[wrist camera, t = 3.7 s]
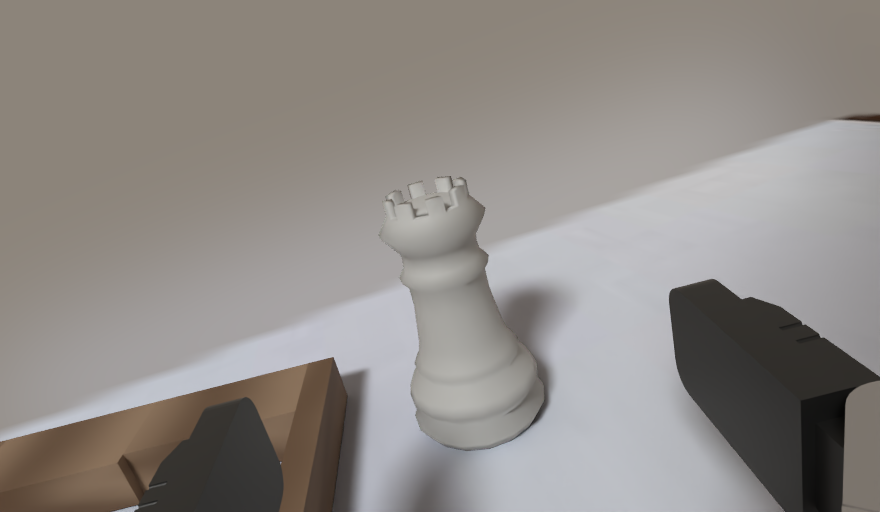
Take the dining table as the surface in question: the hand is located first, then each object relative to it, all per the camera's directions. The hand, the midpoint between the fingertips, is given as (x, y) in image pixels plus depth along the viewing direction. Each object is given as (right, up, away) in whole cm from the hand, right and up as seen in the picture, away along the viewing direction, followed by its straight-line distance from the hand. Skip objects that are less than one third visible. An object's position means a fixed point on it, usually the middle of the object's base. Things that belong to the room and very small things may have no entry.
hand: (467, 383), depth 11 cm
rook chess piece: (+1, -3, +9) cm, 10 cm away
